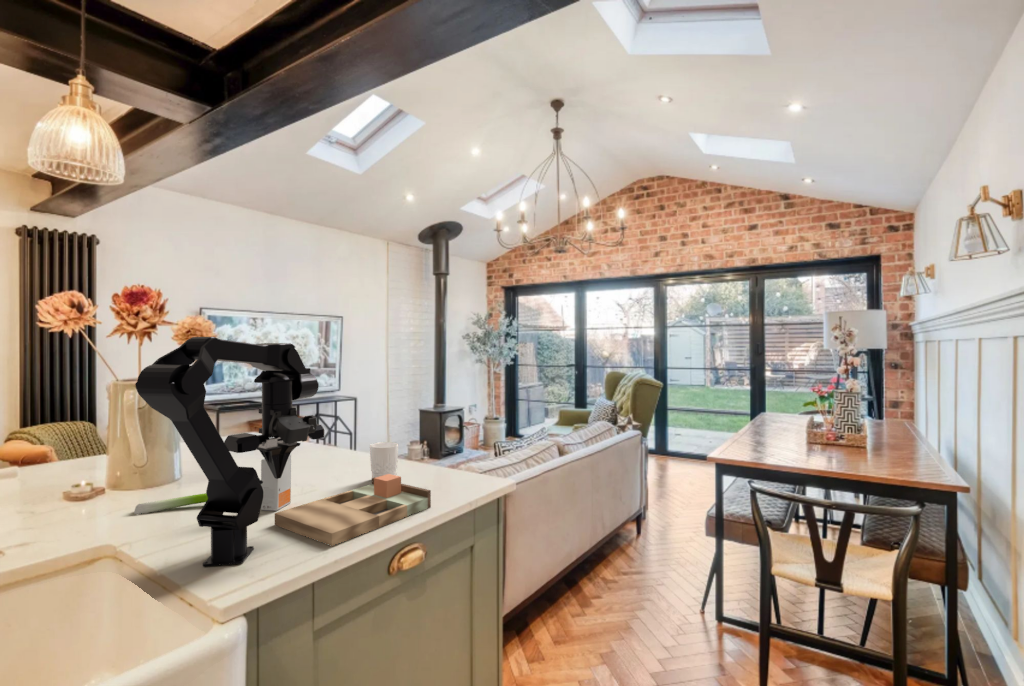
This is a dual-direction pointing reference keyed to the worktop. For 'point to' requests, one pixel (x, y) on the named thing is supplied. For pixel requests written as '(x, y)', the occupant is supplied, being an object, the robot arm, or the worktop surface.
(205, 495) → the leek
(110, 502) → the worktop surface
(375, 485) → the block
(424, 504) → the board
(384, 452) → the white cup
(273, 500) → the skincare box
